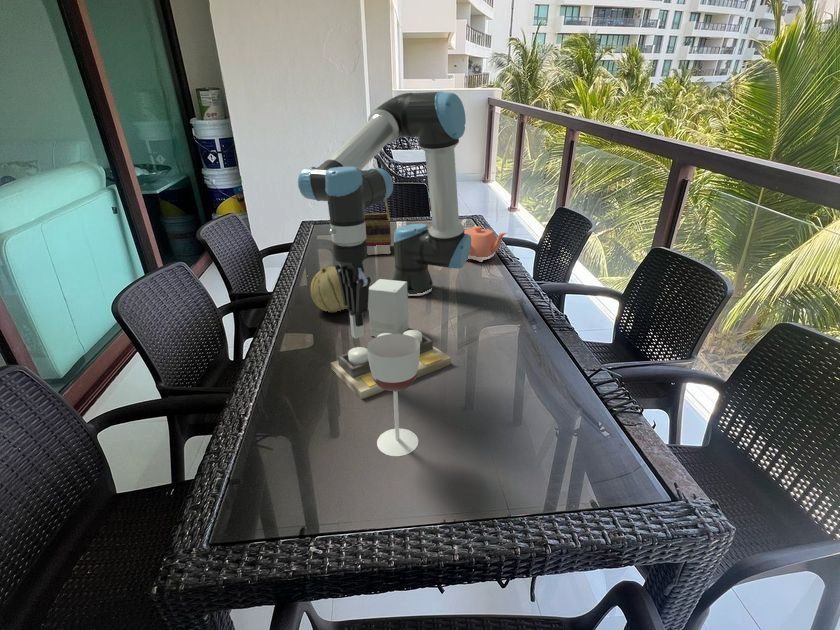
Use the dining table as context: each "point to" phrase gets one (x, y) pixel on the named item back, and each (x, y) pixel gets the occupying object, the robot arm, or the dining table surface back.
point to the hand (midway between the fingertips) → (358, 335)
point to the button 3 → (414, 334)
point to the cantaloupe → (327, 290)
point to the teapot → (483, 241)
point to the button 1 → (358, 356)
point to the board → (362, 377)
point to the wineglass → (395, 383)
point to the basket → (377, 228)
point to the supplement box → (388, 307)
